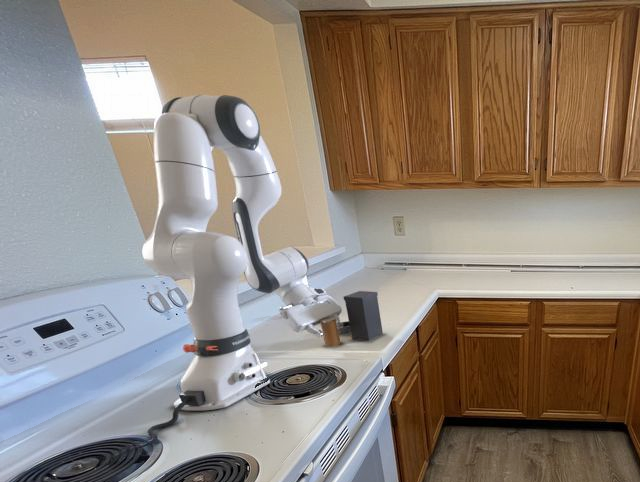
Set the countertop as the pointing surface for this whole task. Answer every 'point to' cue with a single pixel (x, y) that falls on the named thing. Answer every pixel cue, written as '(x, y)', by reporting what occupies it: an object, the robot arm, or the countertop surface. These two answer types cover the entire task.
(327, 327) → the brown wooden cylinder
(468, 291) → the countertop surface
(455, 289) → the countertop surface
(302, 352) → the countertop surface
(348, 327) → the brew holder
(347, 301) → the dark grey tall block
